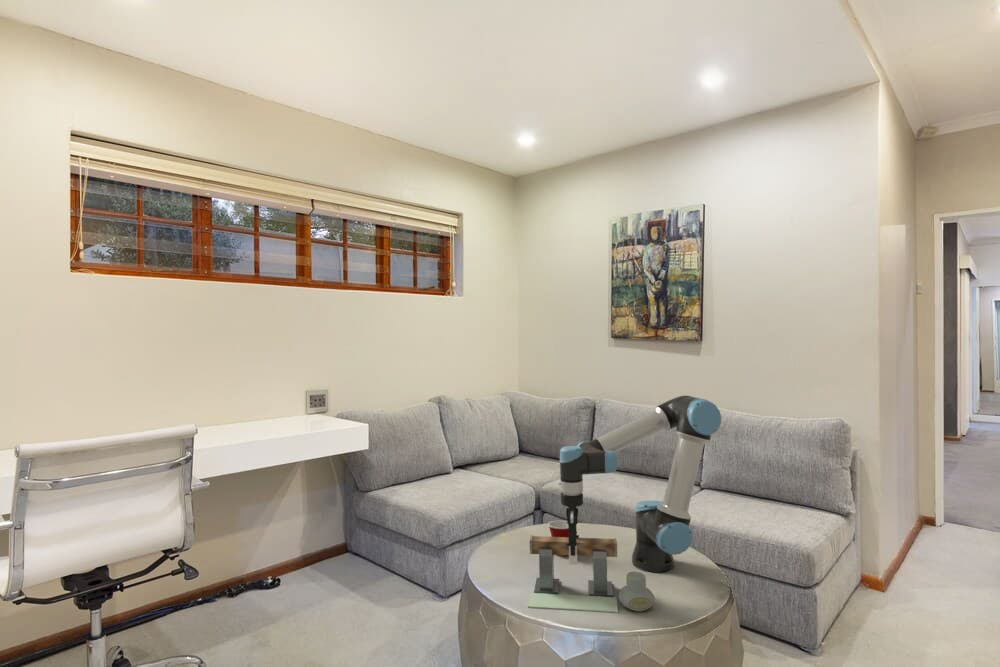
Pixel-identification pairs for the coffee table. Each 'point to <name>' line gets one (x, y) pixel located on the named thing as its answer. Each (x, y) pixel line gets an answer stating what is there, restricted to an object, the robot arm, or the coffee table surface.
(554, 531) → the plastic cup
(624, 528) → the coffee table surface
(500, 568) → the coffee table surface
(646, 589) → the air freshener
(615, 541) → the rail
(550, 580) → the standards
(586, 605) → the mat
